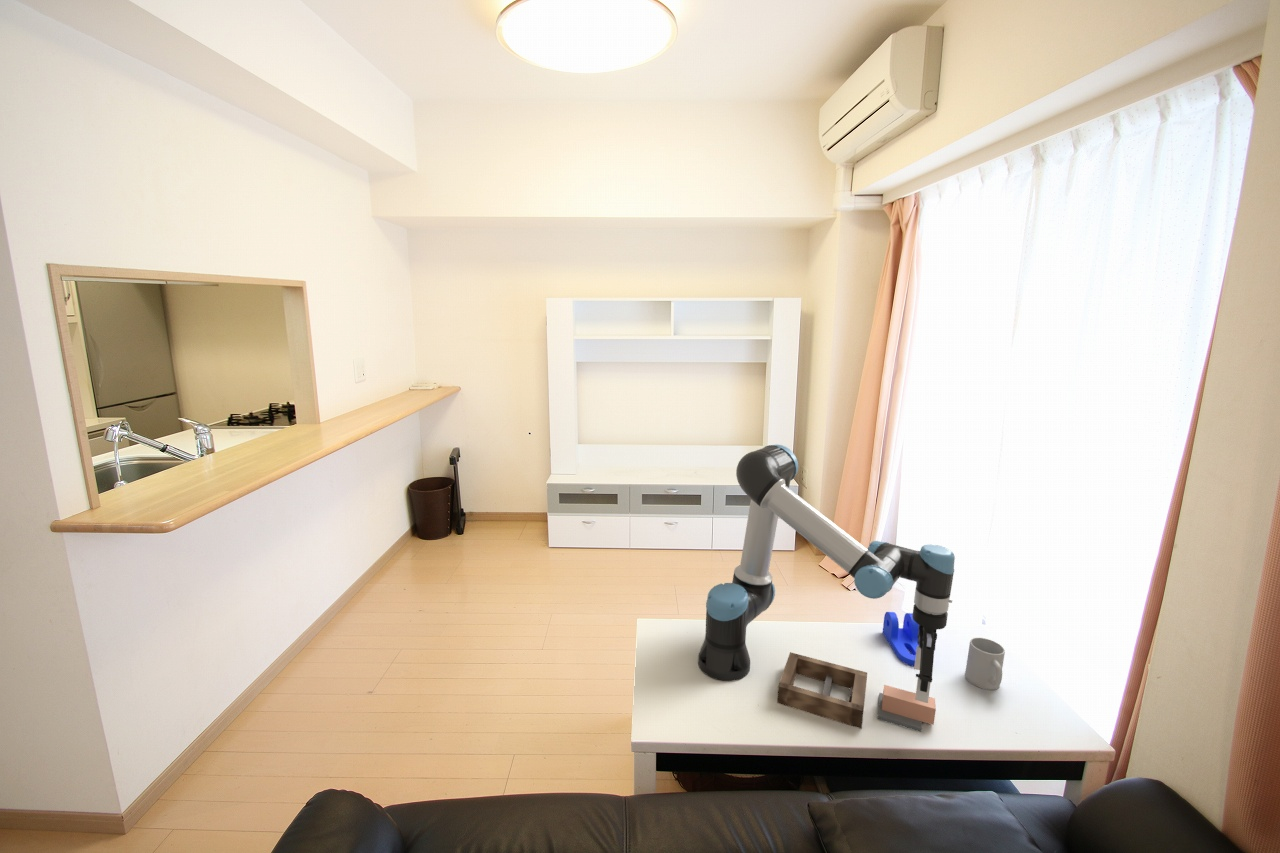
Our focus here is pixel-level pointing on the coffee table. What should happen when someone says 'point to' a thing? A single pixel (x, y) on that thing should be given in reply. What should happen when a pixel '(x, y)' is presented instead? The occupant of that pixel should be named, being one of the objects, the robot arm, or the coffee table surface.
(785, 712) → the coffee table surface
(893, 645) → the bracket
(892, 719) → the rubber pad
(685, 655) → the coffee table surface
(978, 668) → the mug
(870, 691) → the coffee table surface
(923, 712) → the terracotta block
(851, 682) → the brown wooden frame
